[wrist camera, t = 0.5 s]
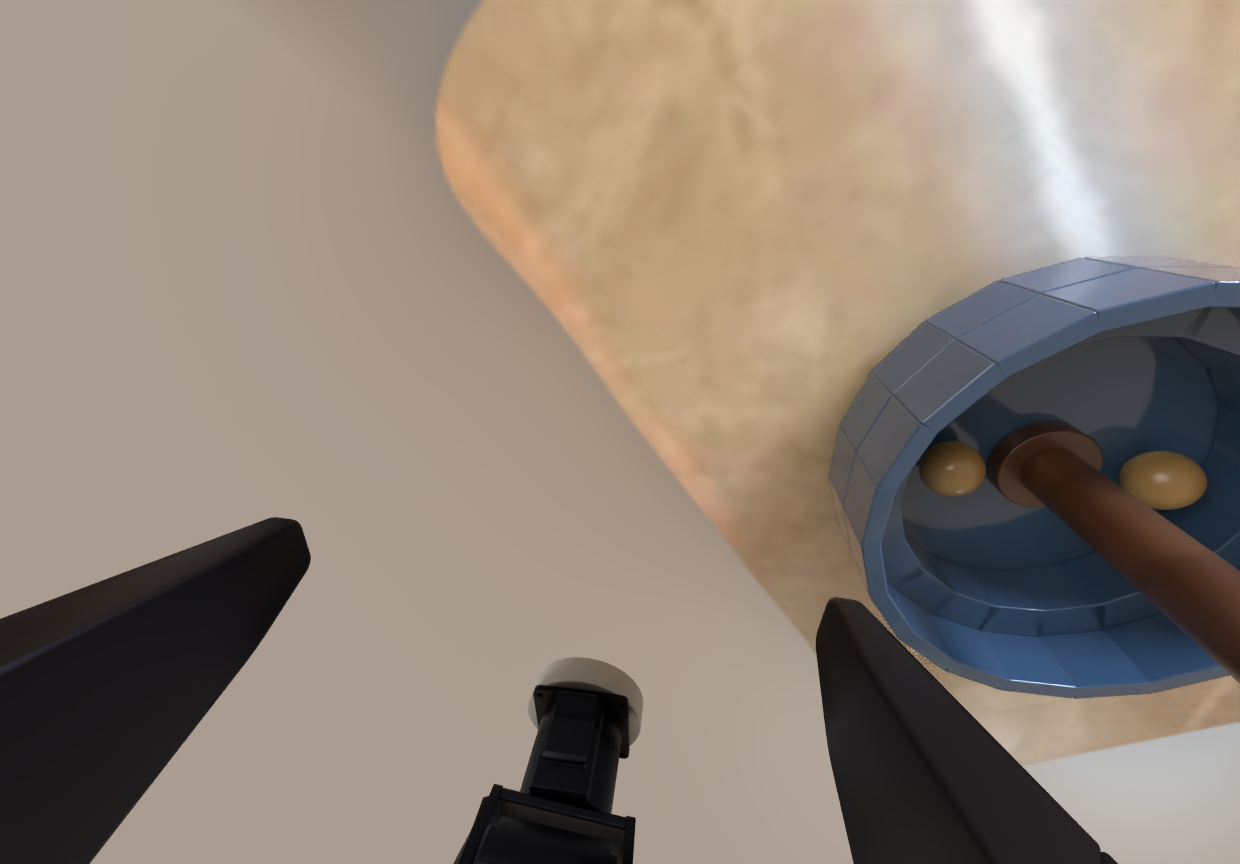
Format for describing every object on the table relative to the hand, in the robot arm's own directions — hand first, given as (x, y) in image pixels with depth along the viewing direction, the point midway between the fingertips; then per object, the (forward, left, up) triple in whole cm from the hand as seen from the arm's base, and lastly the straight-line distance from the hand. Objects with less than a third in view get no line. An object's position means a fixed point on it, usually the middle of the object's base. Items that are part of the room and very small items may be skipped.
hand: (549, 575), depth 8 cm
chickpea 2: (-3, -18, -11) cm, 21 cm away
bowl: (-3, -15, -12) cm, 20 cm away
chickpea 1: (-3, -12, -11) cm, 16 cm away
